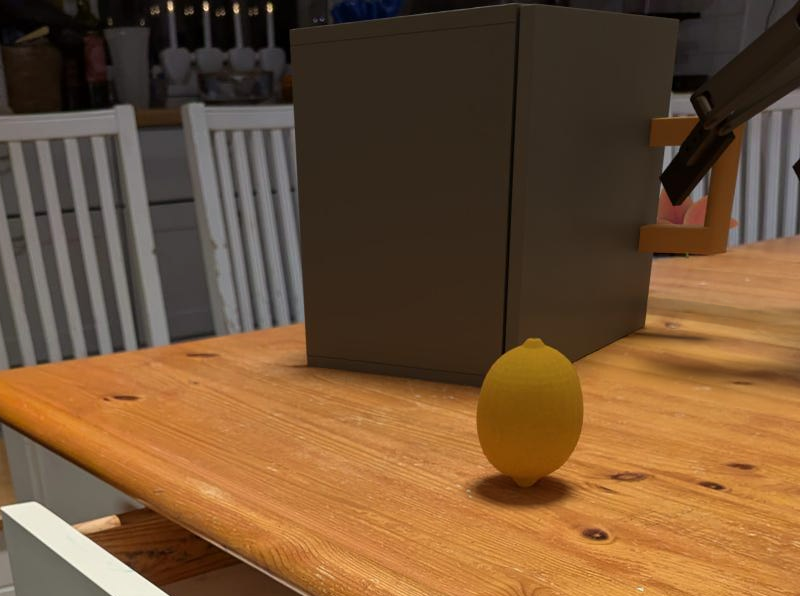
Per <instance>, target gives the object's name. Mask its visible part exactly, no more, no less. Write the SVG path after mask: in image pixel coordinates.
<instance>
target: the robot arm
mask: <svg viewBox="0 0 800 596" xmlns="http://www.w3.org/2000/svg"><path fill="white" fill-rule="evenodd" d="M798 88H800V0H797V1H796V2H795V4H794V5H793V6H792V7H791V8H789V10H788V11H787V12H785V13H784V14H783V15H782V16H781V17H780V18H779V19H778V20H776V21H775V22H773V24H772V25H770V26H769V27H768V28H766V30H764V31H763V32H762V33H761V34H760V35H759V36H758V37H756V38H755V39H754V40H753V41H752V42H751V43H749V44H748V45H747V46H746V47H744V49H742V50H741V51H740V52H739V53H738V54H737V55H735V56H734V57H733V58H732V59H730V60H729V62H727V63H726V64H725V65H724V66H723V67H722V68H720V69H719V70H718V71H717V72H716V73H715V74H714V75H712V76H711V77H710V78H709V79H708V80H707V81H705V82H704V83H703V84H702V85H700V86H699V87H698V88H696V89H695V91H693V93H692V94H691V95H690V97H689V102H690V104H691V105H692V108H693V110H694V112H695V114H696V116H698V118H699V122H698V123H697V124H696V126H695V127H694V128H693V130H692V131H691V132H690V134H689V135H688V136H687V138H686V140H684V142H683V143H682V144H681V146H679V149H678V151H677V153H676V154H675V156H673V158H672V160H670V162H669V163H668V165H667V166H666V168H664V170H663V171H662V174H661V176H660V177H659V179H660V181H661V186H662V188H663V187H664V189H665V191H666V193H667V195H668V197H669V199H670V201H671V203H672V205H673V206H681V205H682V203H683V202H684V201H685V200H686V198H687V197H688V196H689V197H690V195H691V193H692V192H693V191H694V189H696V187H697V186H698V185H699V184H700V183H701V181H702V180H703V179H704V178H705V176H706V175H708V172H709V171H711V168H712V166H713V165H714V164H715V163H716V161H717V160H718V159H719V158H720V156H721V155H722V154H723V153H724V152H725V150H726V149H727V148H728V147H729V145H730V144H731V143H732V142H733V140H734V139H735V138H736V137H735V135H734V133H733V131H732V130H734V129H735V128H737V127H738V126H740V125H742V124H743V123H745V124H746V122H748V121H749V120H751V119H752V118H754V117H755V116H757V115H759V114H760V113H761V112H763V111H765V110H766V109H768V108H769V107H770V106H772V105H774V104H775V103H777V102H778V101H780V100H782V99H783V98H784V97H786V96H787V95H789V94H791V93H792V92H794V91H795V90H797V89H798ZM791 168H792V170H793V172H794V174H795V175H796V177H797V179H798V181H799V182H800V157H799V158H798V159H797V161H795V163H793V164H792V165H791Z"/></svg>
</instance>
